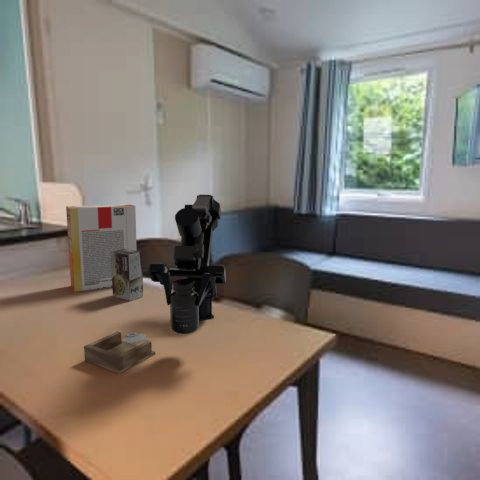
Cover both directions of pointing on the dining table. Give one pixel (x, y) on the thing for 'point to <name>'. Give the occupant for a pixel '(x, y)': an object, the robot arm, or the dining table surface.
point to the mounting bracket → (134, 338)
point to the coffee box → (127, 274)
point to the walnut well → (116, 353)
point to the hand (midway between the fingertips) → (183, 305)
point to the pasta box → (97, 241)
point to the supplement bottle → (184, 307)
